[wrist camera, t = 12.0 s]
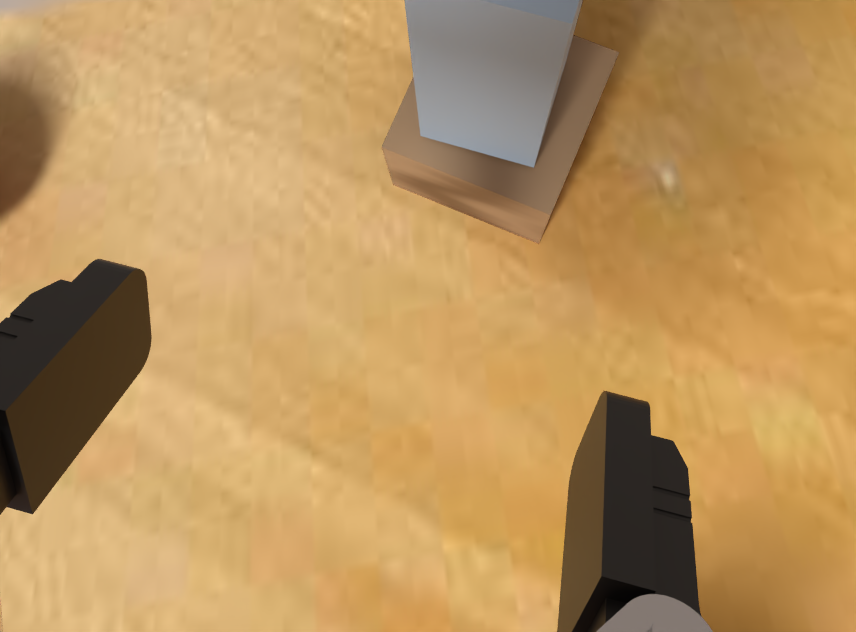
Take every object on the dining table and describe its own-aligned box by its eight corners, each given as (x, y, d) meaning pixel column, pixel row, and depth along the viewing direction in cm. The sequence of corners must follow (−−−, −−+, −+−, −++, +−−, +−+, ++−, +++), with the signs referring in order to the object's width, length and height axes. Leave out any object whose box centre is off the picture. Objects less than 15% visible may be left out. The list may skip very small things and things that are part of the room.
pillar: (420, 136, 30) (401, -21, 20) (454, 32, 30) (453, -169, 21) (533, 167, 29) (572, 24, 20) (566, 61, 30) (618, -129, 20)
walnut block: (393, 185, 35) (381, 147, 30) (454, 49, 36) (452, -11, 31) (538, 244, 34) (550, 215, 29) (597, 104, 35) (619, 52, 30)
